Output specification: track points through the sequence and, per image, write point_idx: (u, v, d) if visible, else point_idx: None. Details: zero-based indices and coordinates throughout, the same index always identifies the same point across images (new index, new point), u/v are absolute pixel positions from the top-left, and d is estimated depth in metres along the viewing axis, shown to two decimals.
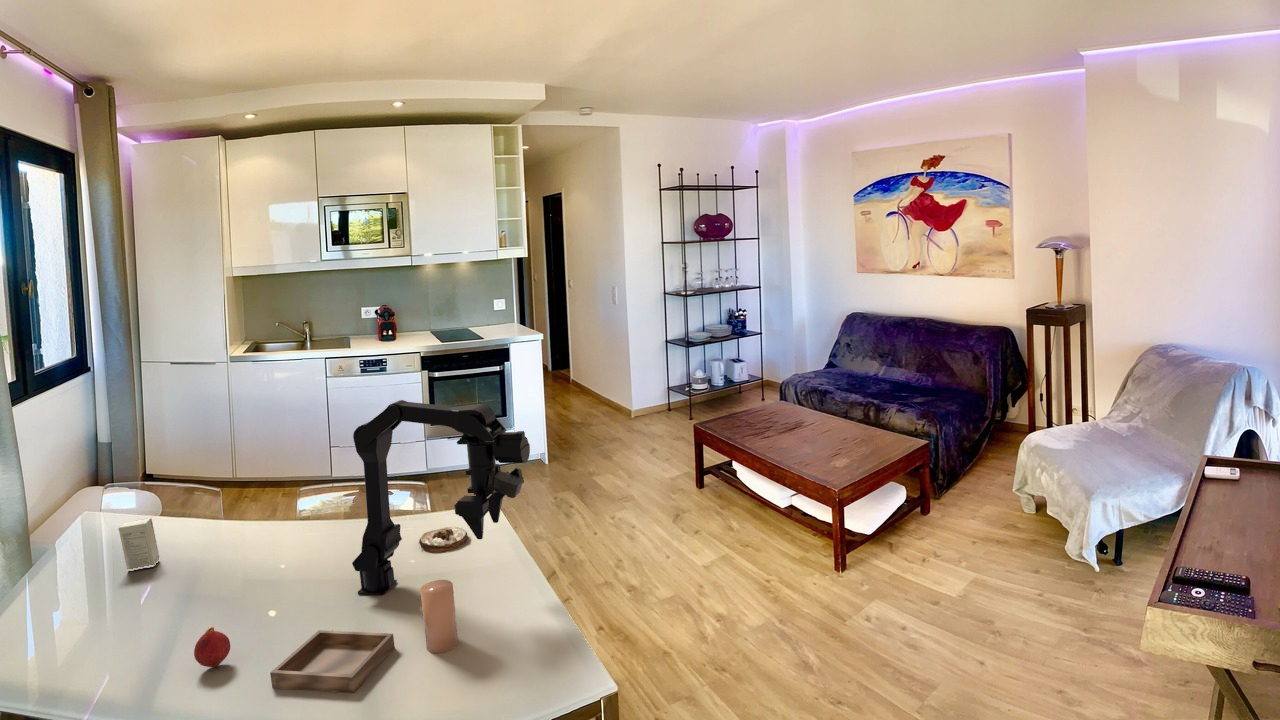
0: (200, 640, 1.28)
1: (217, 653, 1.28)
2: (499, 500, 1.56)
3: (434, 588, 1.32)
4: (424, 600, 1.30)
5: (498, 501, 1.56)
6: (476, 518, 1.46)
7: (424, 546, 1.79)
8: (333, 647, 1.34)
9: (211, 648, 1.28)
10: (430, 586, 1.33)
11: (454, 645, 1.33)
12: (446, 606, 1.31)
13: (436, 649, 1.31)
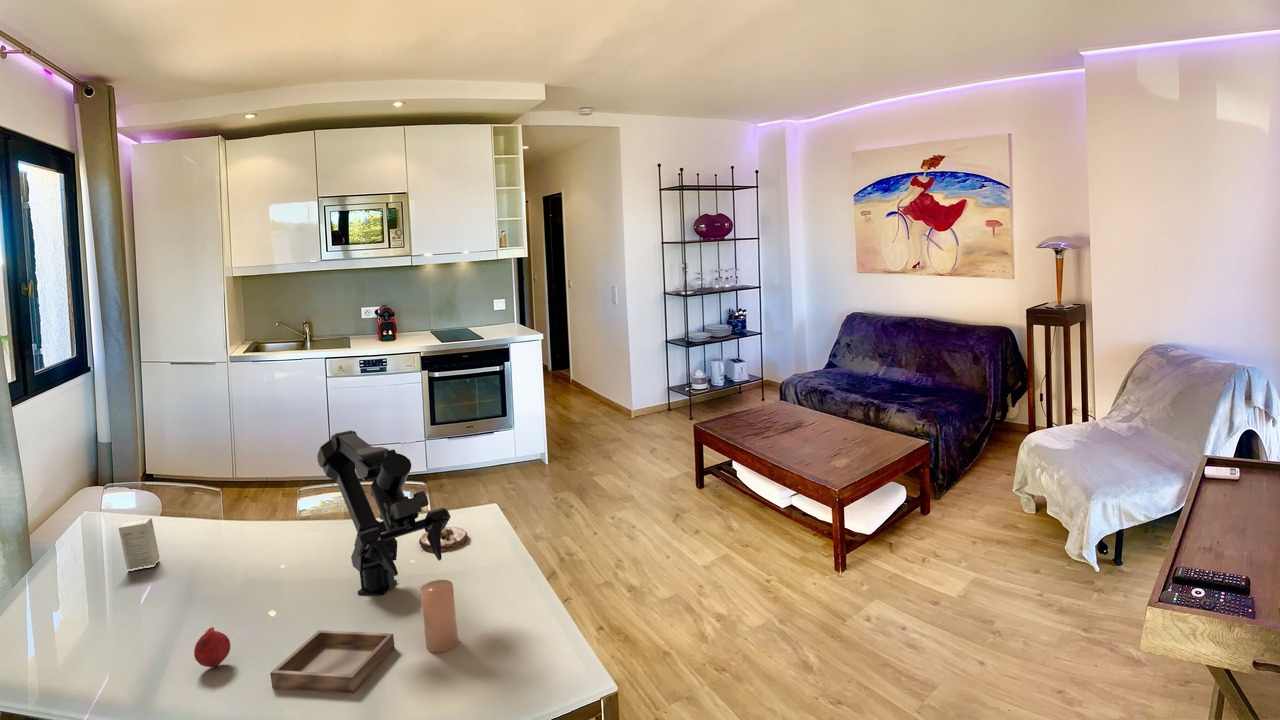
0: (200, 640, 1.28)
1: (217, 653, 1.28)
2: (433, 534, 1.43)
3: (433, 588, 1.32)
4: (424, 600, 1.30)
5: (433, 536, 1.43)
6: None
7: (424, 546, 1.79)
8: (333, 647, 1.34)
9: (211, 648, 1.28)
10: (430, 586, 1.33)
11: (454, 645, 1.33)
12: (446, 606, 1.31)
13: (436, 649, 1.31)
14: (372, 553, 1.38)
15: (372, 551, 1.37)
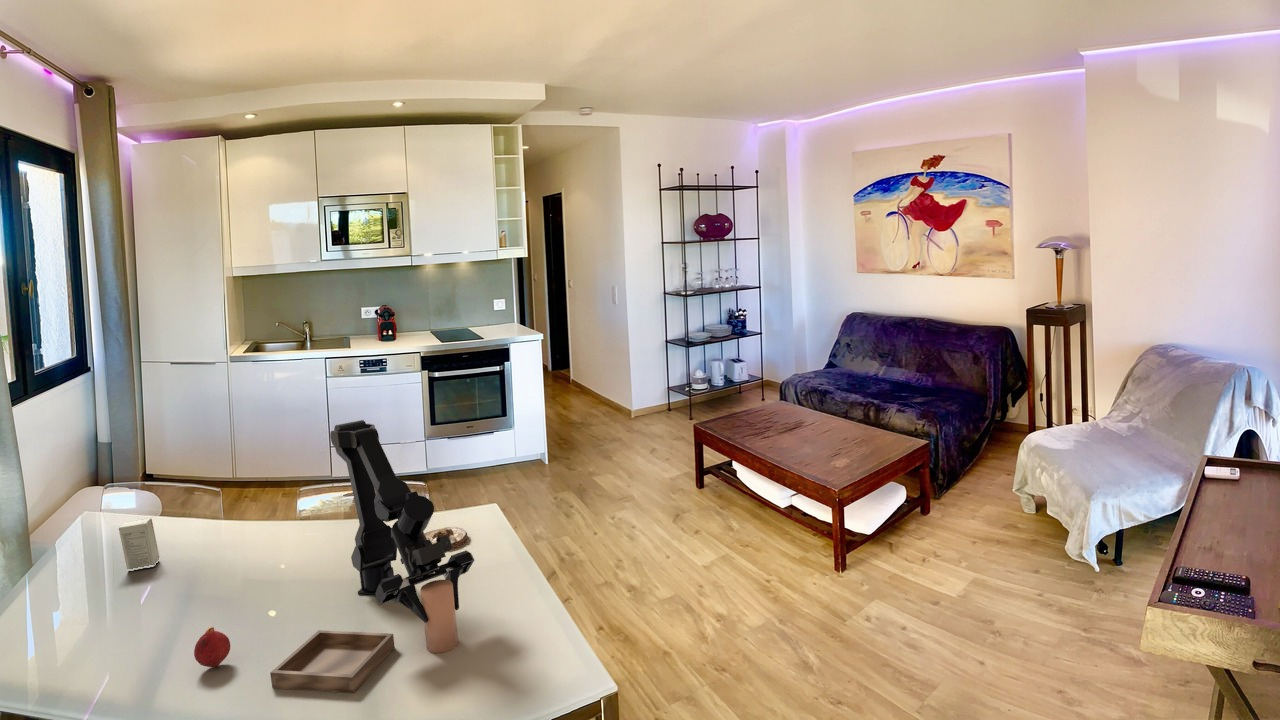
0: (200, 640, 1.28)
1: (217, 653, 1.28)
2: None
3: (434, 587, 1.32)
4: (424, 600, 1.30)
5: None
6: None
7: None
8: (333, 647, 1.34)
9: (211, 648, 1.28)
10: (430, 586, 1.33)
11: (454, 645, 1.33)
12: (446, 606, 1.31)
13: (436, 649, 1.31)
14: (401, 598, 1.32)
15: (401, 597, 1.32)
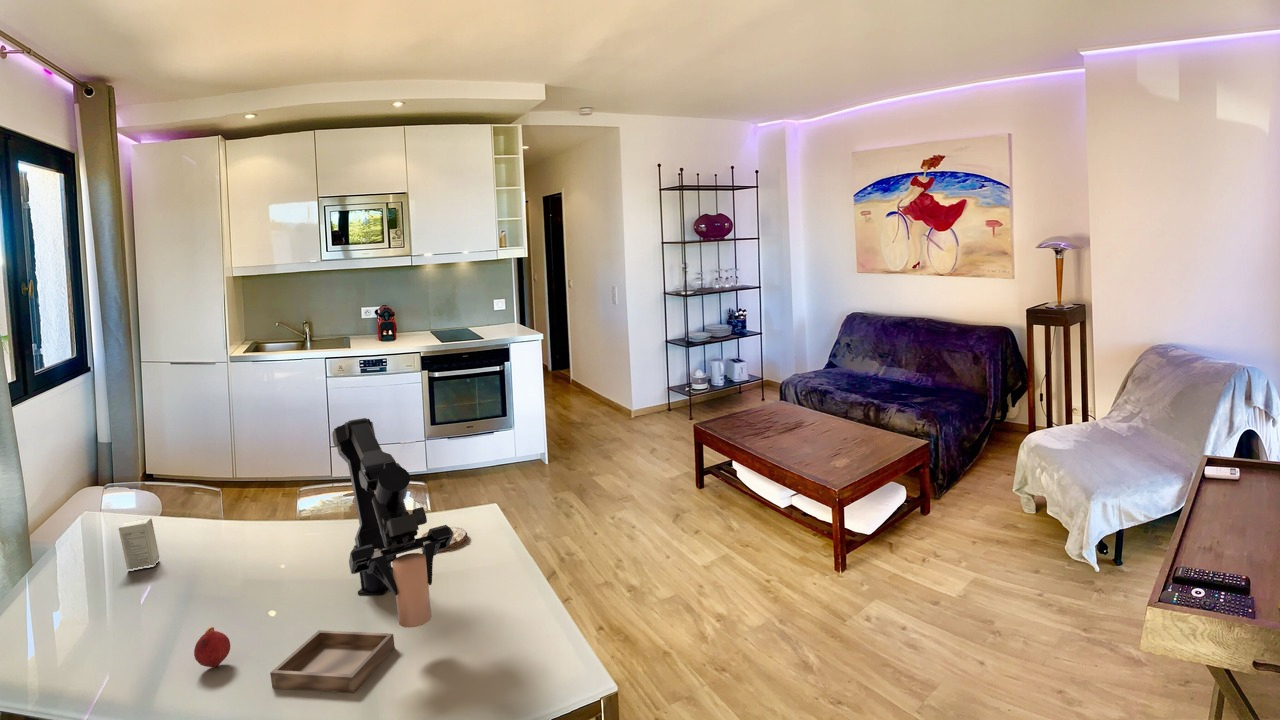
0: (200, 640, 1.28)
1: (217, 653, 1.28)
2: None
3: (406, 560, 1.29)
4: (395, 573, 1.27)
5: None
6: None
7: None
8: (333, 647, 1.34)
9: (211, 648, 1.28)
10: (403, 558, 1.30)
11: (425, 620, 1.30)
12: (416, 580, 1.27)
13: (406, 623, 1.28)
14: (374, 569, 1.30)
15: (373, 567, 1.29)
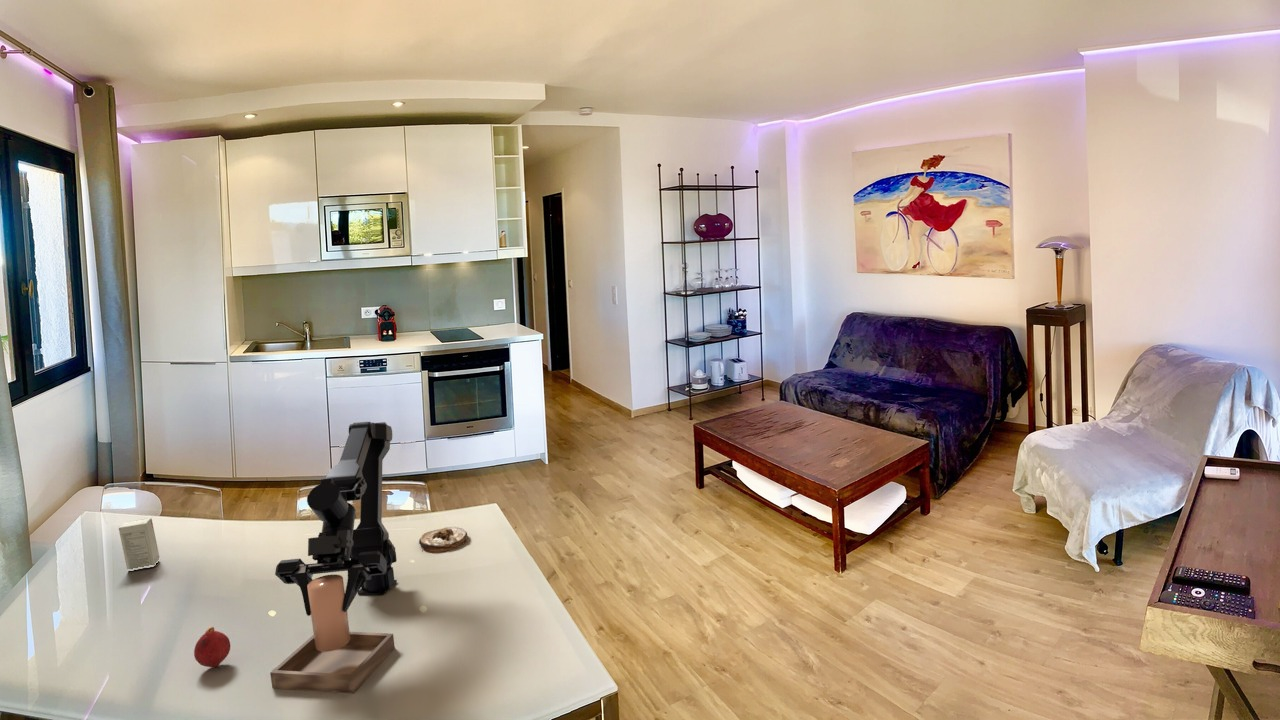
0: (200, 640, 1.28)
1: (217, 653, 1.28)
2: None
3: (322, 582, 1.26)
4: (308, 593, 1.25)
5: None
6: None
7: (424, 546, 1.79)
8: None
9: (211, 648, 1.28)
10: (323, 579, 1.27)
11: (335, 647, 1.25)
12: (323, 605, 1.24)
13: (316, 646, 1.26)
14: None
15: None
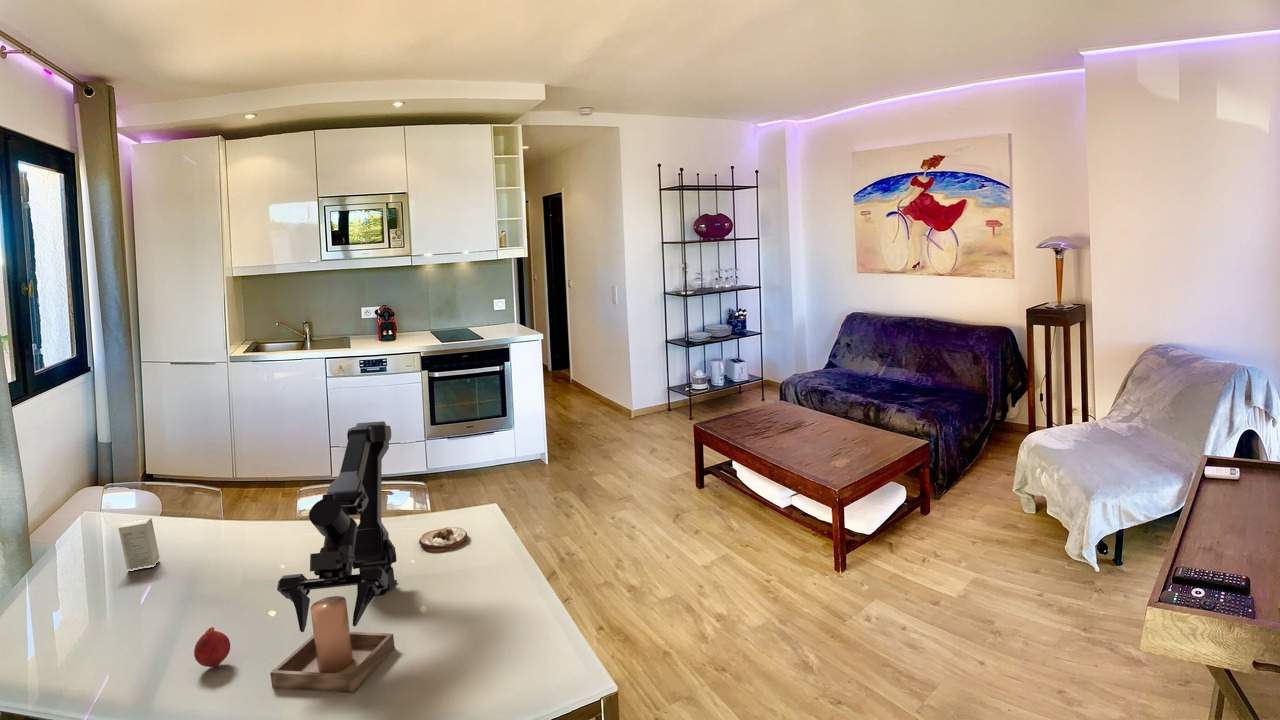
0: (200, 640, 1.28)
1: (217, 653, 1.28)
2: None
3: (325, 604, 1.27)
4: None
5: None
6: None
7: (424, 546, 1.79)
8: None
9: (211, 648, 1.28)
10: (326, 601, 1.28)
11: (337, 669, 1.26)
12: (326, 627, 1.24)
13: (319, 668, 1.26)
14: None
15: None
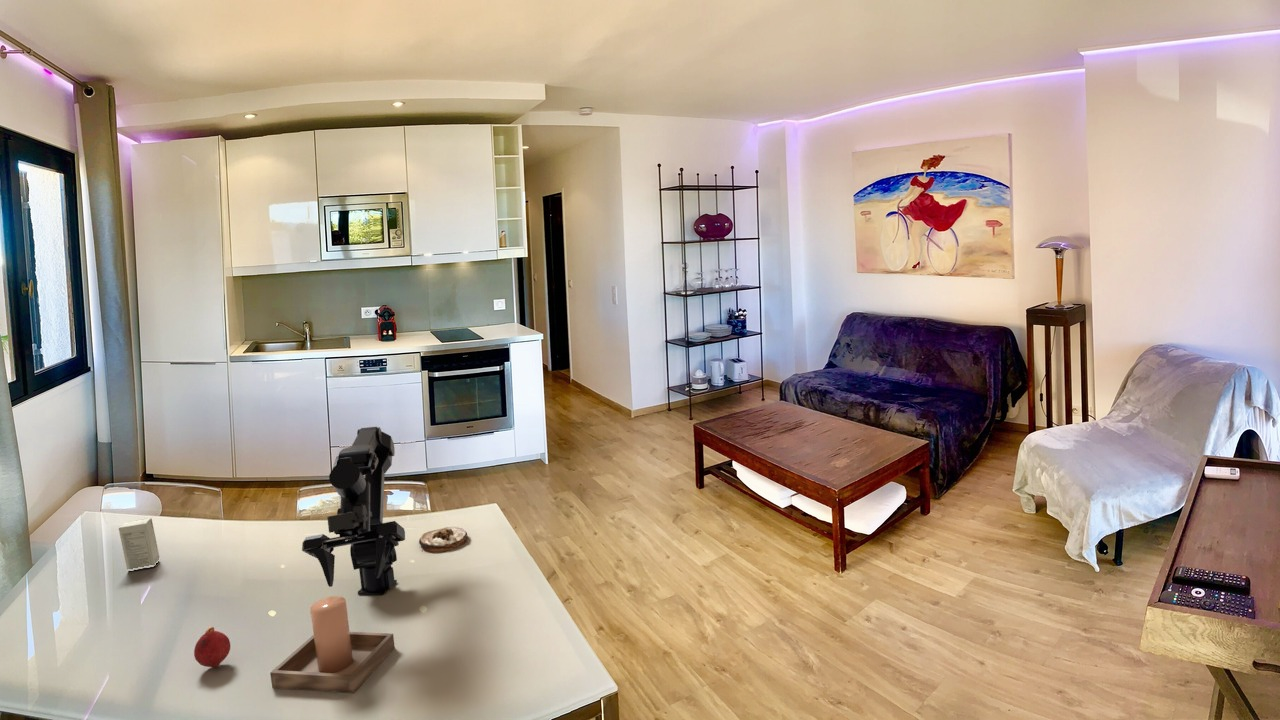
0: (200, 640, 1.28)
1: (217, 653, 1.28)
2: None
3: (324, 604, 1.27)
4: None
5: None
6: None
7: (424, 546, 1.79)
8: None
9: (211, 648, 1.28)
10: (326, 601, 1.28)
11: (337, 669, 1.26)
12: (326, 627, 1.24)
13: (319, 668, 1.26)
14: None
15: None
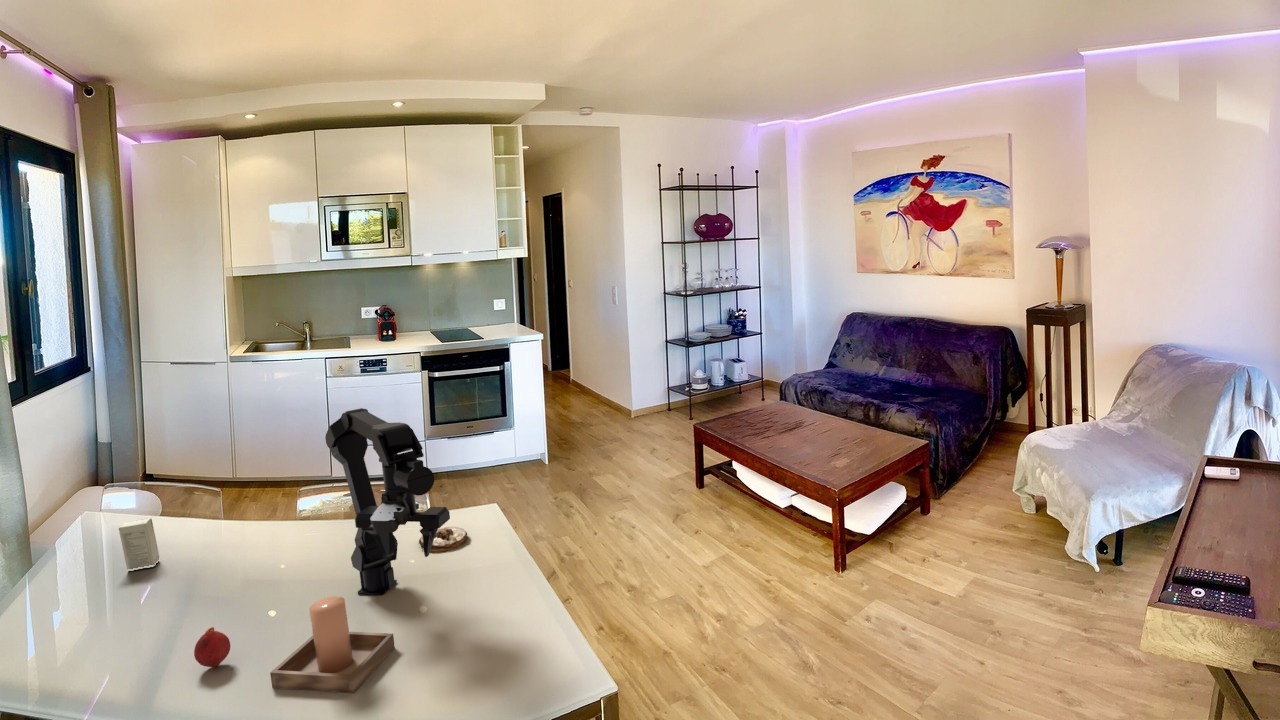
0: (200, 640, 1.28)
1: (217, 653, 1.28)
2: None
3: (323, 604, 1.26)
4: None
5: None
6: None
7: None
8: None
9: (211, 648, 1.28)
10: (324, 601, 1.28)
11: (338, 669, 1.26)
12: (325, 627, 1.24)
13: (319, 668, 1.26)
14: None
15: None
